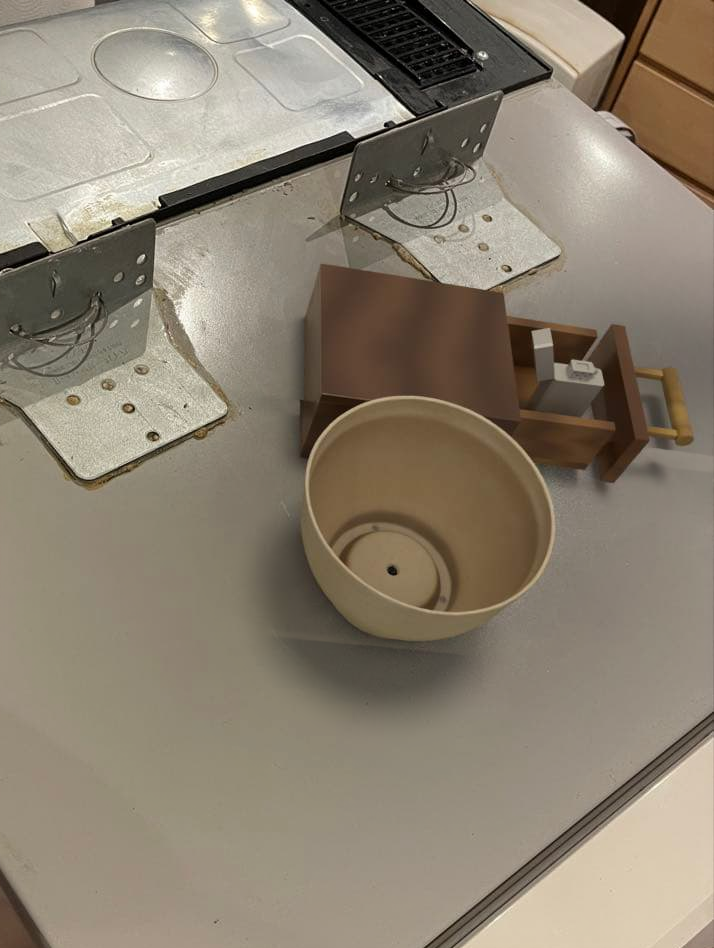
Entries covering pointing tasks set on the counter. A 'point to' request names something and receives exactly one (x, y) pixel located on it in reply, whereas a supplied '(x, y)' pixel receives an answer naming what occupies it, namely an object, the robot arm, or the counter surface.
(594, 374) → the lighter
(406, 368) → the cabinet
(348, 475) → the planter bowl
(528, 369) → the drawer
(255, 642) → the counter surface
